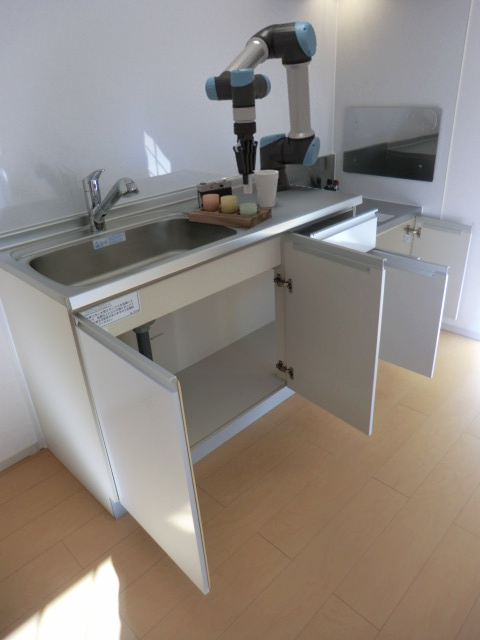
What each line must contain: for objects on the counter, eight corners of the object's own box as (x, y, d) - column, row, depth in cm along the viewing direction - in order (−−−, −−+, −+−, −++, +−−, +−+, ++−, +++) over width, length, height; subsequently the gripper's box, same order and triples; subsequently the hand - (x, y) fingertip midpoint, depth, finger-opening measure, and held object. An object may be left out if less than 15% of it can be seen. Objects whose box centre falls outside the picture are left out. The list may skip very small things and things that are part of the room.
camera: (223, 200, 205) (222, 176, 201) (233, 204, 199) (231, 179, 194) (194, 206, 199) (191, 181, 195) (203, 210, 193) (200, 184, 188)
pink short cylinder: (209, 206, 184) (208, 193, 182) (222, 207, 181) (221, 194, 179) (200, 210, 180) (199, 196, 177) (213, 211, 177) (212, 198, 175)
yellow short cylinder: (227, 208, 180) (226, 194, 178) (240, 209, 177) (240, 196, 175) (218, 212, 176) (217, 198, 174) (232, 213, 173) (231, 199, 171)
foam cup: (277, 208, 189) (276, 174, 183) (253, 208, 191) (252, 174, 185) (280, 202, 197) (279, 169, 191) (257, 202, 199) (256, 170, 193)
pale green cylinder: (245, 215, 177) (245, 202, 175) (260, 217, 174) (259, 203, 172) (237, 219, 173) (236, 206, 171) (251, 221, 170) (251, 207, 168)
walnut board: (213, 210, 190) (212, 203, 189) (271, 217, 178) (271, 208, 176) (189, 221, 178) (188, 213, 177) (249, 228, 166) (249, 219, 164)
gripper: (244, 119, 166) (248, 188, 177) (224, 123, 156) (229, 196, 167) (264, 119, 162) (266, 189, 173) (244, 123, 152) (247, 198, 163)
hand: (248, 193), depth 170 cm, fingers closed
